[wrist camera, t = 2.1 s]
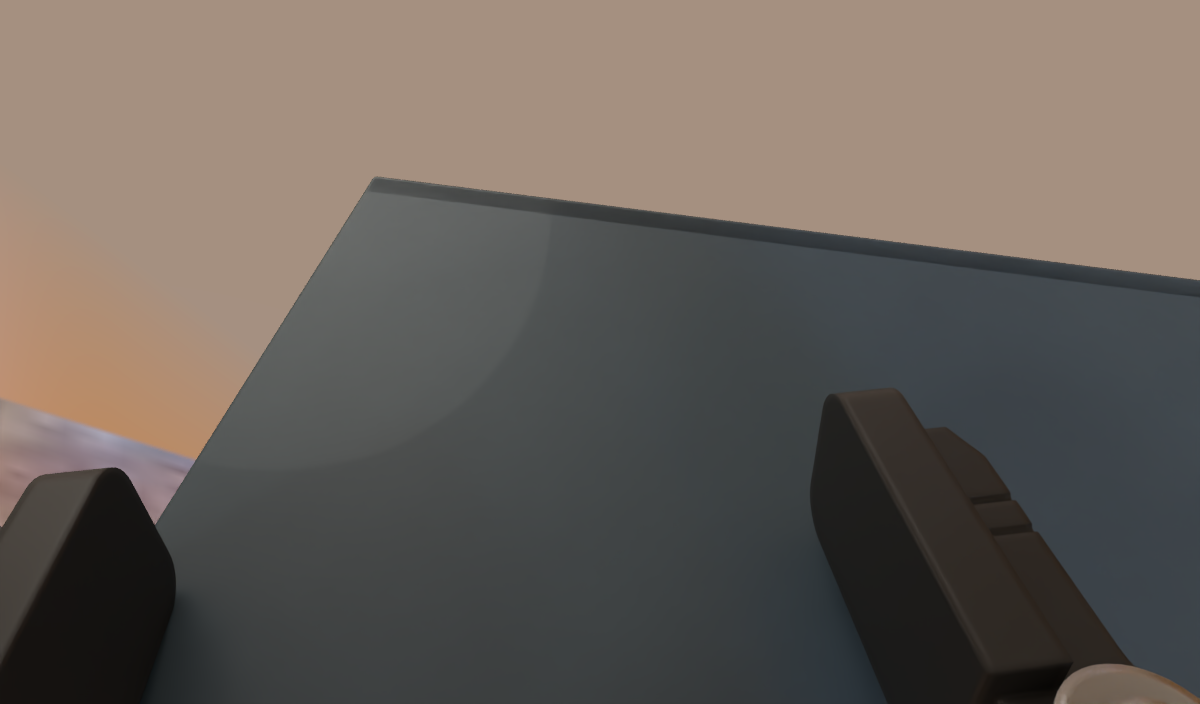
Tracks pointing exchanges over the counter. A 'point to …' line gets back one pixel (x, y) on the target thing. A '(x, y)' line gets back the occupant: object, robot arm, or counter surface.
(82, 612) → the robot arm
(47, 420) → the counter surface
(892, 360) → the shelf unit
